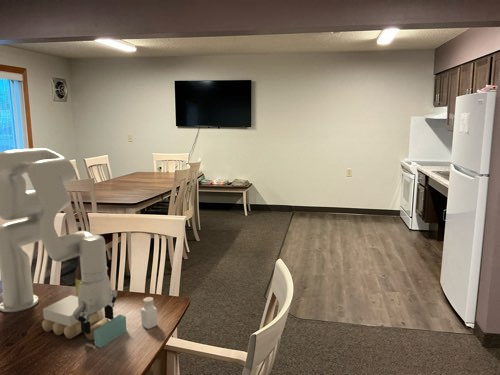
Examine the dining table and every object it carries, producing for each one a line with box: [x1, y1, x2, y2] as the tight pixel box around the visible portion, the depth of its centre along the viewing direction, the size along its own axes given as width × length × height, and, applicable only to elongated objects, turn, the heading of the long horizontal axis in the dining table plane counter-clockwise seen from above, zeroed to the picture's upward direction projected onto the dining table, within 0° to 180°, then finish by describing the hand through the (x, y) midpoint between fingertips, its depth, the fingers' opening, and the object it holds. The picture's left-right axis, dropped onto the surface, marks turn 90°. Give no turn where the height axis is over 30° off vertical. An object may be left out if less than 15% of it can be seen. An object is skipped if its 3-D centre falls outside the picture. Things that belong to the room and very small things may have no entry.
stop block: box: [93, 314, 127, 348], centre depth 124 cm, size 2×11×5 cm, turn 155°
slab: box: [42, 294, 92, 327], centre depth 131 cm, size 12×11×4 cm
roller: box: [85, 318, 110, 341], centre depth 126 cm, size 7×4×4 cm, turn 156°
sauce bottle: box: [74, 256, 82, 297], centre depth 146 cm, size 7×6×20 cm
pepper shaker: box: [140, 296, 158, 330], centre depth 131 cm, size 4×4×10 cm
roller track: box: [41, 310, 103, 340], centre depth 129 cm, size 22×12×4 cm, turn 65°
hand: (98, 325), depth 126 cm, fingers open, 9 cm apart
